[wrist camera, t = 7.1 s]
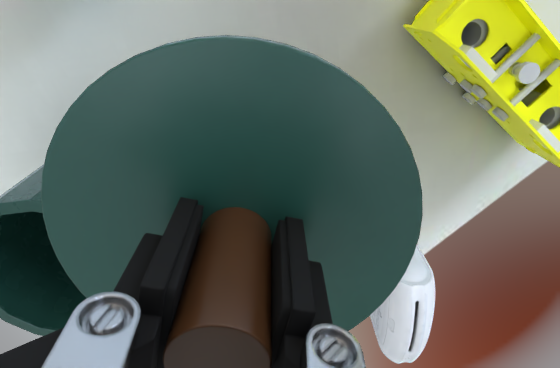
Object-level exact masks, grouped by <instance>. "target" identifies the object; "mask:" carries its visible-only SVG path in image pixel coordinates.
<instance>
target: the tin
mask: <svg viewBox="0 0 560 368" xmlns="http://www.w3.org/2000/svg"><path fill="white" fill-rule="evenodd" d="M43 167H44V165H42V166H41V167H40V168H38V169H37V170H35V171H34V172H33V173H31V174H30V175H28V176H27V177H26V178H24V179H23V180H22V181H20V182H19V183H17V184H16V185H15V186H13V187H12V188H11V189H9V190H8V191H6V192H5V193H4V194H2V195H1V196H0V318H1V319H2V320H4V321H5V322H8V323H10V324H12V325H15V326H17V327H19V328H22V329H24V330H27V331H29V332H31V333H34V334H37V335H42V336H45V335H47V334H50V333H52V332H54V331H57V330H59V329H61V328H64V327H65V325H66V323H67V321H68V320H69V318H70V316H71V314H72V313H73V311H74V310H75V308H76V307H77V306H78V305H79V304H80V303H81V302H82V301H84V300H85V299H87V298H86V297H85V296H84V295H83V294H82V293H81V292H80V290H79V289H78V288H77V287H76V285H75V284H74V283H73V282H72V280H71V279H70V278H69V276H68V275H67V273H66V272H65V270H64V268H63V267H62V265H61V263H60V262H59V260H58V258H57V256H56V254H55V252H54V249H53V247H52V245H51V242H50V240H49V237H48V233H47V230H46V226H45V222H44V218H43V210H42V201H41V185H42V172H43Z"/></svg>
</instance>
